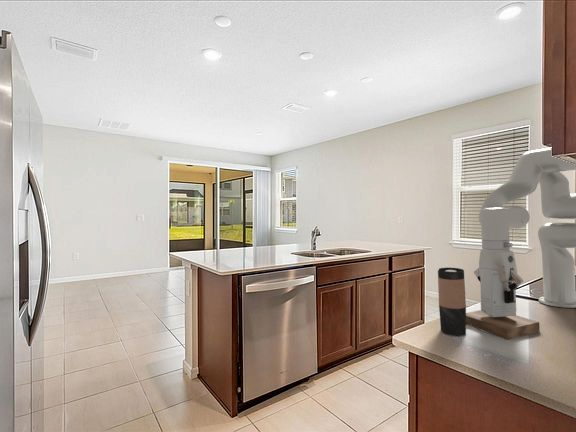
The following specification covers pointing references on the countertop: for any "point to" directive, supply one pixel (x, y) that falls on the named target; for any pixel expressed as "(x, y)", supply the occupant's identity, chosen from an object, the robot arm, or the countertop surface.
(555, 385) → the countertop surface
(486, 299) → the skincare box
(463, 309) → the travel mug
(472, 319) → the walnut base board
